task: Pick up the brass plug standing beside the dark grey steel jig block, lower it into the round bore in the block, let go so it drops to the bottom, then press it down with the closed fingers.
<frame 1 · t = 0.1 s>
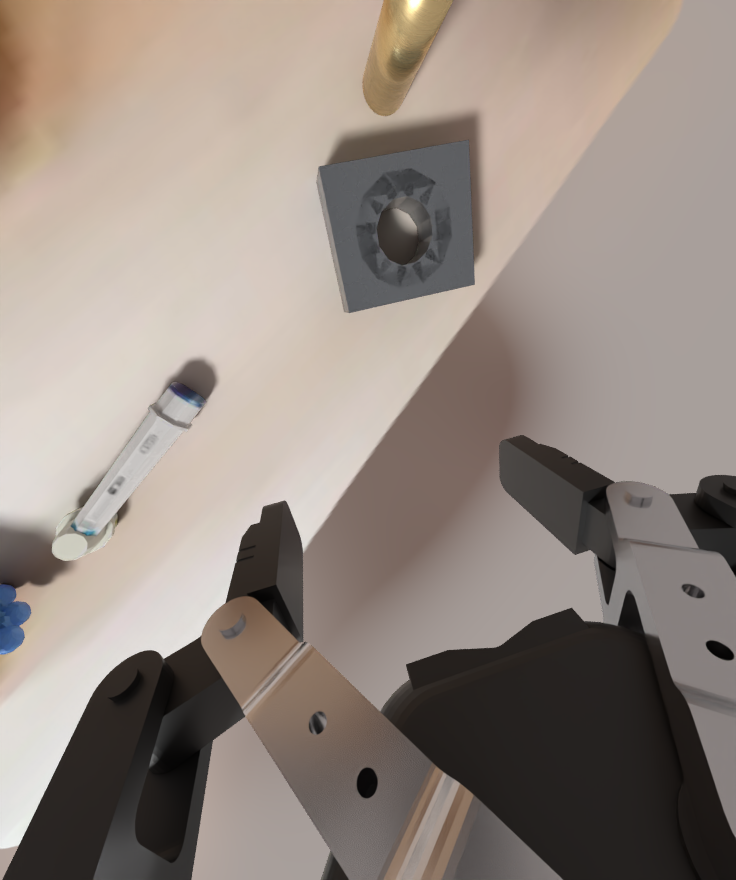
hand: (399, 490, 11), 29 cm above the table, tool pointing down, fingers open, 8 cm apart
brass plug: (383, 86, 29), on the table
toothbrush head: (138, 463, 38), on the table
blue flower: (10, 580, 41), on the table
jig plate: (394, 239, 34), on the table
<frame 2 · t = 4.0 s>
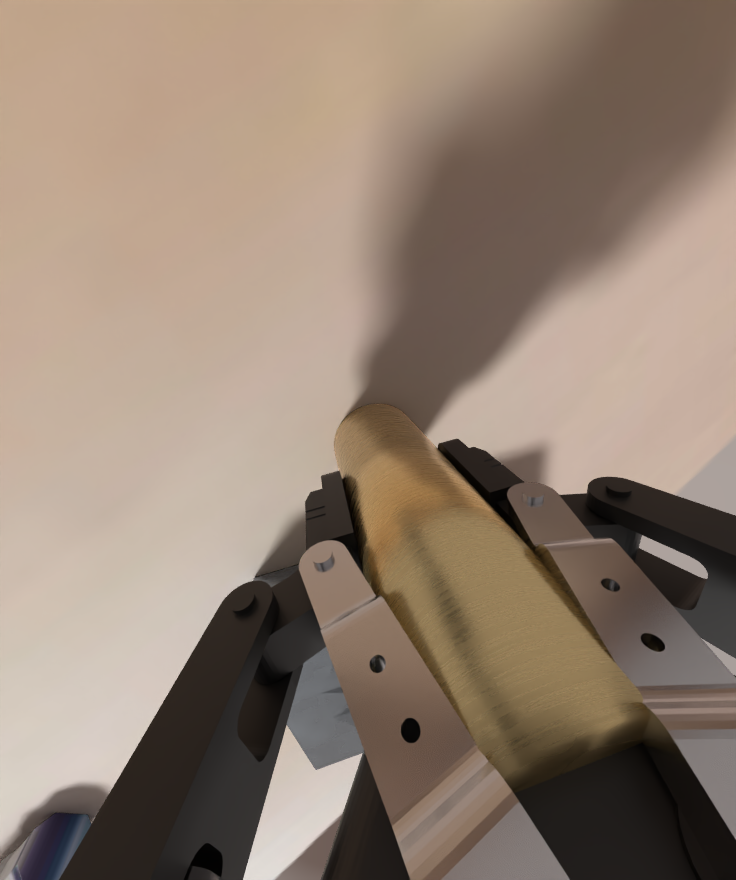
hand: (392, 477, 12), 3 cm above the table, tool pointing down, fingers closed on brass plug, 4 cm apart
brass plug: (375, 443, 15), on the table, touching gripper
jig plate: (394, 609, 20), on the table
when the fingers open (5 cm above the table, at t = 9.9 s): brass plug drops 2 cm, resting in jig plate.
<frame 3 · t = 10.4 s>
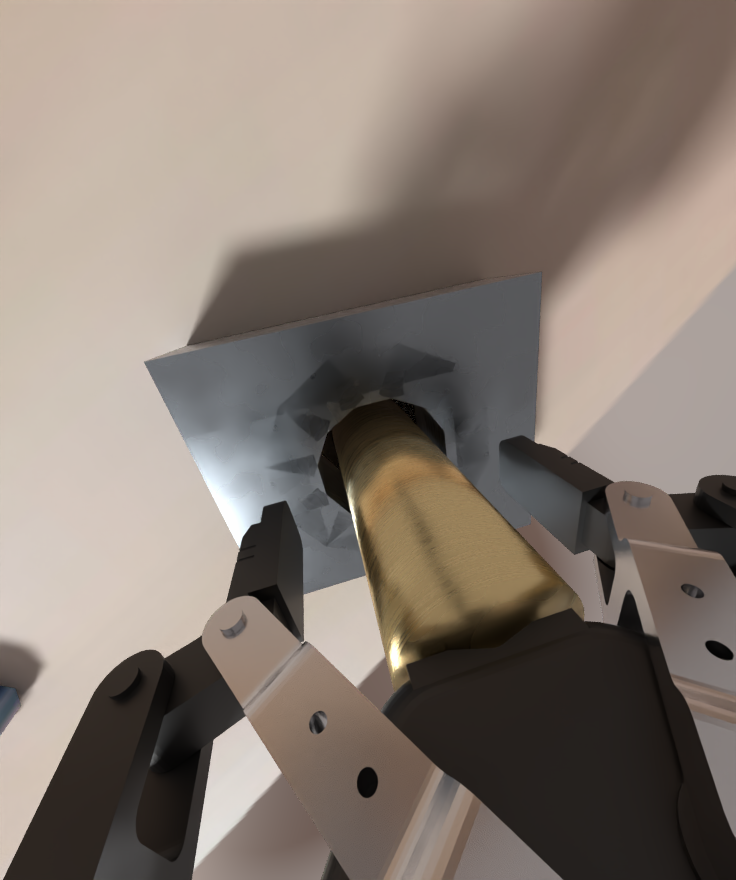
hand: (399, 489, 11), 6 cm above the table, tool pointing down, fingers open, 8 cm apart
brass plug: (369, 428, 17), resting in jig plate
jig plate: (367, 428, 17), on the table
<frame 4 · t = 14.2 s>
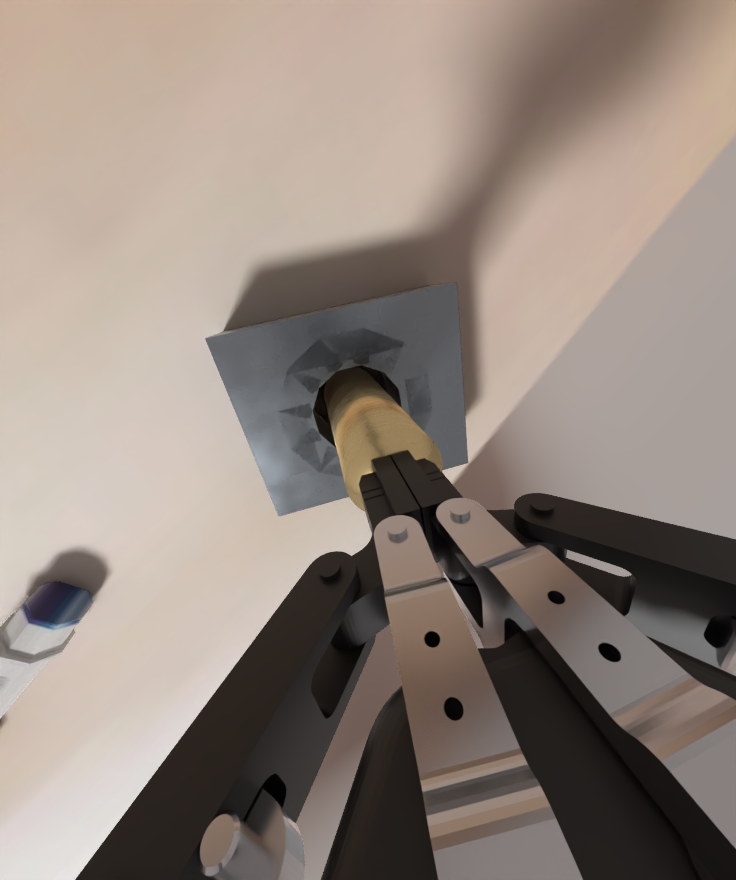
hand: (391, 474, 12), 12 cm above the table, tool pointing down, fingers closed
brass plug: (351, 394, 23), resting in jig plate, touching gripper
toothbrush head: (10, 669, 28), on the table
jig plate: (349, 394, 23), on the table
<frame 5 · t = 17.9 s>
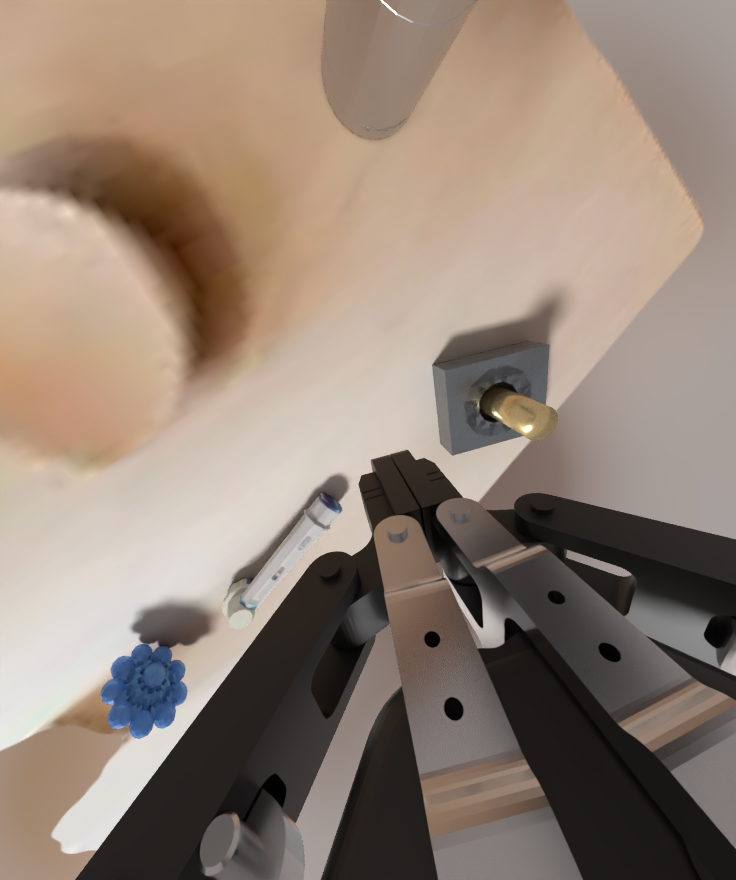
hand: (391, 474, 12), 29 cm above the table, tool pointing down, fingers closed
brass plug: (483, 394, 44), resting in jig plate
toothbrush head: (280, 548, 49), on the table
blue flower: (166, 642, 52), on the table
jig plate: (482, 394, 44), on the table
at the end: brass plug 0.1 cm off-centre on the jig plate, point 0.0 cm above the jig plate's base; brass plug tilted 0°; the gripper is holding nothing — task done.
